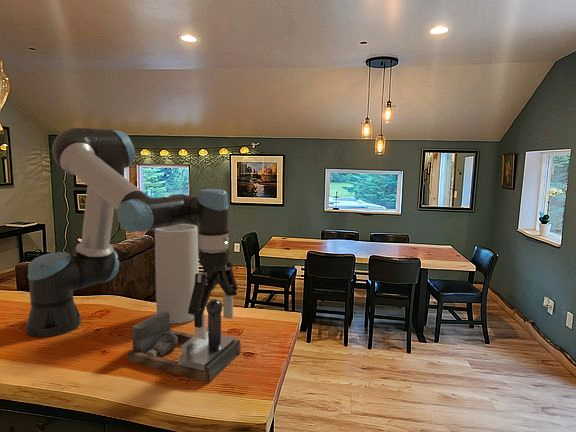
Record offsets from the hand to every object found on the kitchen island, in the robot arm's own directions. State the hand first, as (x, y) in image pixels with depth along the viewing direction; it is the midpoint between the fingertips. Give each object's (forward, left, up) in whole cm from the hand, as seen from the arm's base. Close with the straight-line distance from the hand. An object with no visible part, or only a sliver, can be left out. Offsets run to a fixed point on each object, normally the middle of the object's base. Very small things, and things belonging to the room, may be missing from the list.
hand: (215, 327), depth 104 cm
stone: (-17, -1, -11) cm, 20 cm away
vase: (-29, +22, -11) cm, 38 cm away
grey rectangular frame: (-10, 0, -11) cm, 15 cm away
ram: (-2, 0, -10) cm, 11 cm away
